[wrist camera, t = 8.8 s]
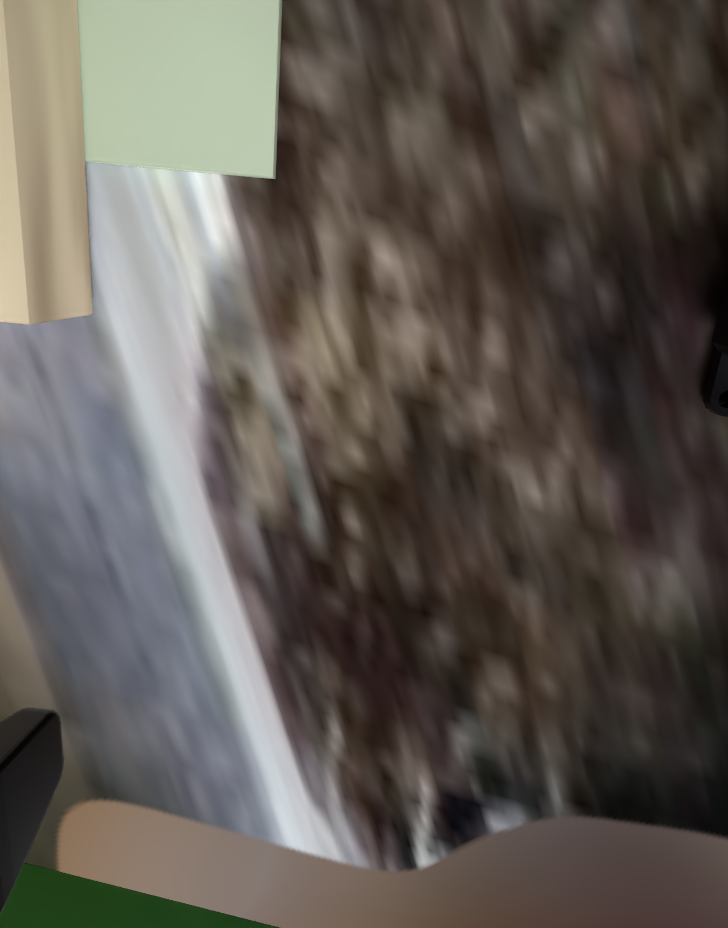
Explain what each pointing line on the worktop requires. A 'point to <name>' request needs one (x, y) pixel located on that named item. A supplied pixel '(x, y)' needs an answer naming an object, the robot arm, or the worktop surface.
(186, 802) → the worktop surface
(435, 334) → the worktop surface
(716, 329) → the robot arm
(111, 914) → the hardback book
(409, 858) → the worktop surface
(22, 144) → the beech block
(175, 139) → the sage swatch
